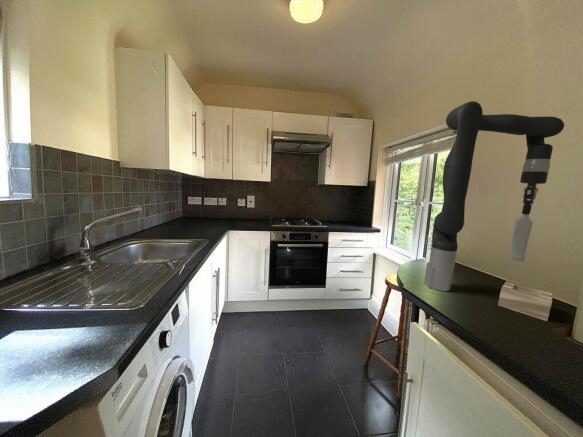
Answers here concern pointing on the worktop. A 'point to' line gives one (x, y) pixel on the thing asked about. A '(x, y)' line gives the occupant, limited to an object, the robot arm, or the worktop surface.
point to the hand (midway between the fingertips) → (525, 213)
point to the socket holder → (526, 300)
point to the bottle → (520, 238)
